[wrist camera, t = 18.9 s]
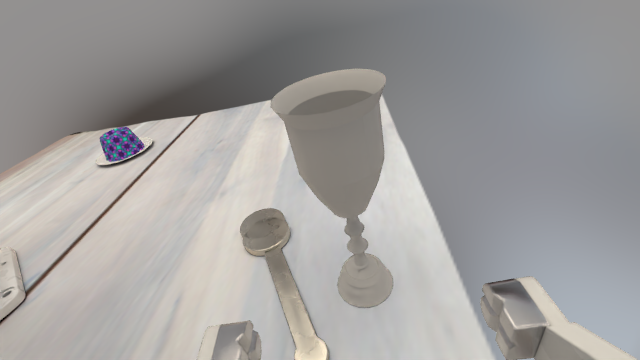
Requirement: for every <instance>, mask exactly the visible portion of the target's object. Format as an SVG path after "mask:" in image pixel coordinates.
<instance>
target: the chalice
mask: <svg viewBox="0 0 640 360" xmlns="http://www.w3.org/2000/svg"><path fill="white" fill-rule="evenodd" d="M385 79H386V77H385V76H384V75H383V74H382V73H380V72H377V71H374V70H369V69H348V70H339V71H333V72H327V73H324V74H320V75H316V76H312V77H310V78H307V79H304V80H301V81H298V82H296V83H294V84H292V85H290V86H288V87H286V88H285V89H283V90H282V91H280V92H279V93H277V94H276V95H275V97H274V98H273V99H272V100H271V108H272V109H273V110H274V111H275V112H276V113H277V114H278V116H279V117H280V118H281V119H282V120H283V121H284V123H285V127H286V130H287V133H288V137H289V140H290V144H291V147H292V151H293V154H294V157H295V161H296V164H297V168H298V171H299V174H300V176H301V177H302V178H303V180H304V181H305V182H306V184H307V185H308V186H309V188H310V189H311V190H312V192H313V193H314V194H315V195H316V197H317V198H318V199H319V200H320V201H321V202H322V203H323V204H324V205H326V206H327V207H328V208H329V209H330V210H331V211H332V212H333V213H334V214H335V215H337V216H339V217H342V218H347V225H346V226H345V229H344V230H345V233H346V234H347V235H349V236H350V238H351V240H350V241H349V242H348V244H347V248H348V250H349V251H350V252H352V253H353V254H354V255H353V256H351V257H350V258H348V259H347V260H346V261H345V263H344V265H343V266H342V270H341V272H340V276H339V278H338V285H337V286H338V290H339V294H340V295H341V297H342V298H343V299H344V300H345V301H346V302H348V303H349V304H350V305H353V306H356V307H365V308H368V307H372V306H376V305H378V304H380V303H382V302H383V301H385V300H386V299H387V297H388V296H389V295H390V294H391V291H392V288H393V278H392V275H391V273H390V271H389V270H388V269H387V268H386V267H385V266H384V264H383V263H382V262H381V261H380V260H379V259H378V258H377V257H376V256H374V255H371V254H367V253H364V252H365V250H366V249H367V247H368V242H367V240H366V239H364V238H362V236H361V234H362V232H363V230H364V225H363V224H362V223H361V222H360V221H359V218H358V215H360V214H362V213H363V212H364V211H365V210H366V208H367V206H368V204H369V202H370V199H371V197H372V195H373V192H374V190H375V188H376V186H377V183H378V181H379V177H380V173H381V169H382V165H383V161H384V143H383V133H382V124H381V114H380V104H379V100H380V97H381V94H382V91H383V89H384V86H385Z"/></svg>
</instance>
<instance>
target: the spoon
mask: <svg viewBox="0 0 640 360" xmlns="http://www.w3.org/2000/svg"><path fill="white" fill-rule="evenodd" d="M240 233H241V235H242V237H243V244H244V246H245V248H246V250H247V251H248V252H249V253H250V254H252V255H255V256H265V257H266V260H267V263H268V266H269V269H270V272H271V275H272V278H273V281H274V284H275V287H276V290H277V293H278V296H279V299H280V302H281V305H282V308H283V311H284V314H285V317H286V319H287V322H288V325H289V328H290V331H291V334H292V337H293V340H294V343H295V346H296V350H295V354H294V360H329V351H328V348H327V345H326V343H325V342H324V341H323V340H322V339H320V338H318V337H317V335H316V333H315V330H314V328H313V325H312V323H311V320H310V318H309V316H308V313H307V311H306V308H305V306H304V304H303V301H302V299H301V296H300V294H299V291H298V289H297V287H296V284H295V282H294V279H293V277H292V275H291V272H290V270H289V267H288V265H287V262H286V260H285V258H284V255H283V253H282V250H281V248H282V247H283V246H284V245H285V244H286V243H287V242H288V240H289V237H290V229H289V226H288V224H287V222H286V221H285V219H284V216H283V214H282V213H281V212H280V211H279V210H277V209H272V208H268V209H262V210H259V211H256V212H254V213H252V214H251V215H249V216H248V217H247V218H246V219H245V220H244V221H243V223H242V224H241V227H240Z"/></svg>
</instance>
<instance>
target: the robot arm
mask: <svg viewBox="0 0 640 360" xmlns="http://www.w3.org/2000/svg"><path fill="white" fill-rule="evenodd" d="M482 291H483V293H484V296H483V297H482V298H481V303H480V305H481V310H482V313H483V316H484V319H485V321H486V323H487V325H488V326H489V327H490V328H491V329H492V330H494V331H495V332H497V333H496V339H495V340H496V342H497V344H498V346H499V348H500V350H501V352H502V354H503V355H504V357H505V359H506V360H517V359H526V358H534V359H535V360H638V359H636V358H634V357H633V356H631V355H629V354H627V353H626V352H624V351H622V350H621V349H619V348H617V347H616V346H614V345H612V344H611V343H609V342H607V341H606V340H604V339H602V338H600V337H599V336H597V335H595V334H594V333H592V332H590V331H589V330H587V329H585V328H584V327H582V326H580V325H579V324H577V323H575V322H573V323H569V321H568V320H567V319H566V317H565V316H564V315H563V313H562V312H561V311H560V310H559V309H558V307H557V306H556V304H555V303H554V302H553V300H552V299H551V298H550V297H549V295H548V294H547V293H546V291H545V290H544V289H543V288H542V286H541V285H540V284H539V282H538V281H537V280H536V279H535V278H533V277H530V276H529V277H523V278H517V279H509V280H503V281H498V282H492V283H486V284H484V285H483V288H482ZM24 298H25V290H24V286H23V281H22V277H21V273H20V268H19V264H18V260H17V255H16V252H15V250H13V249H12V248H10V247H5V248H0V320H1V319H3V318H4V317H5V316H6V315H8V314H9V313H10V312H11V311H12V310H14V309H15V308H16V307H17V306H18V305H19V304H20V303H21V302H22V301H23V300H24ZM261 351H262V350H261V340H260V336H259V334H258V332H256V331H254V330H253V324H252V322H251V321H250V320H249V321H243V322H236V323H230V324H221V325H215V326H209V327H208V328H207V329H206V331H205V333H204V337H203V340H202V343H201V347H200V350H199V354H198V357H197V360H261Z"/></svg>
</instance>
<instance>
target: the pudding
mask: <svg viewBox="0 0 640 360" xmlns="http://www.w3.org/2000/svg"><path fill="white" fill-rule="evenodd" d="M100 142H101V145H102V148H103V151H104V153H103V154H102V155H100V156H99V157H98V158H97V160H96V163H97V164H98V165H108V164H113V163H117V162H120V161H124V160H126V159H129V158H131V157H133V156H135V155H137V154H139V153H140V152H142V151H144V150H145V149H146V148H148V147H149V146H150V145H151V143H152V142H153V140H152V139H151V138H138V137H137V136H136V135H135V134H134V133H133V132H132V131H131V130H130V129H129V128H127V127H120V128H117V129H113V130H111V131H109V132H107V133H105V134H103V135H102V136H101V137H100Z"/></svg>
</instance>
